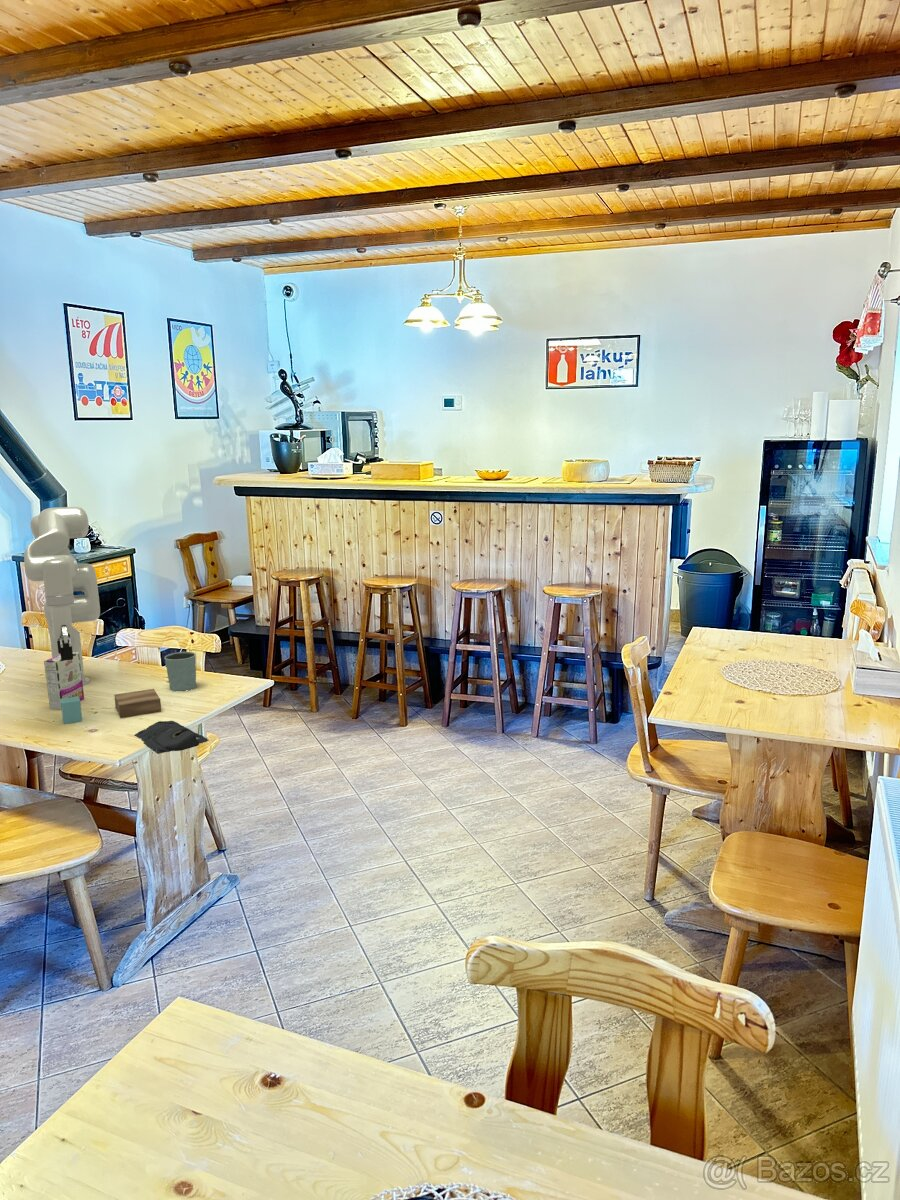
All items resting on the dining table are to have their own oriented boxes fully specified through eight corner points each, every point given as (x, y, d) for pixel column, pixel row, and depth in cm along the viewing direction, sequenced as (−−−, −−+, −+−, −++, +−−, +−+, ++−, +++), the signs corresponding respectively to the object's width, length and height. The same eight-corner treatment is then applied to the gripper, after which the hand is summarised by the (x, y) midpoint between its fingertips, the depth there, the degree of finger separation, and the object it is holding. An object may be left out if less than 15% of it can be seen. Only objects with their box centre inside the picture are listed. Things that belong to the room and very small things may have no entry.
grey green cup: (201, 690, 272) (198, 656, 270) (170, 695, 267) (167, 660, 265) (193, 682, 281) (191, 650, 279) (164, 687, 276) (161, 654, 274)
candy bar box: (71, 699, 264) (66, 651, 261) (85, 699, 263) (80, 652, 260) (48, 710, 253) (43, 660, 250) (62, 711, 252) (57, 661, 249)
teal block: (62, 720, 244) (60, 698, 242) (80, 717, 246) (78, 696, 245) (64, 725, 240) (61, 703, 238) (82, 722, 242) (80, 700, 241)
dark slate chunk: (180, 725, 240) (179, 710, 239) (212, 746, 224) (211, 730, 223) (129, 738, 230) (127, 722, 229) (159, 760, 214) (158, 744, 213)
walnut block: (115, 709, 255) (114, 694, 254) (155, 703, 260) (153, 688, 259) (120, 720, 244) (119, 705, 243) (161, 714, 250) (160, 699, 249)
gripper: (43, 597, 241) (49, 651, 244) (47, 606, 226) (54, 664, 229) (71, 594, 245) (76, 648, 248) (76, 603, 230) (82, 661, 233)
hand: (65, 656), depth 239 cm, fingers open, 9 cm apart
